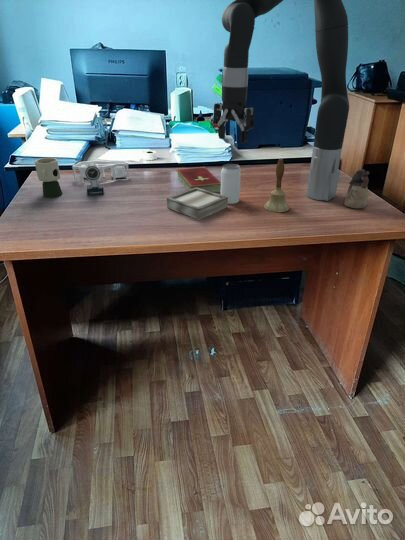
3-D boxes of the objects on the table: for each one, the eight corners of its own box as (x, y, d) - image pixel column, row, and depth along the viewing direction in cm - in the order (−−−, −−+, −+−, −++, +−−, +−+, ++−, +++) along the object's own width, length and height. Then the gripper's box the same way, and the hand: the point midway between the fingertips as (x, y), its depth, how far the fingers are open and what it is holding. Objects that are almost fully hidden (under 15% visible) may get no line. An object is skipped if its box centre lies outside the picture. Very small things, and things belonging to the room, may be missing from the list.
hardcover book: (205, 176, 160) (205, 166, 158) (222, 193, 143) (223, 182, 141) (176, 179, 157) (176, 168, 155) (190, 197, 140) (190, 185, 138)
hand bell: (270, 213, 127) (275, 164, 119) (260, 204, 134) (264, 156, 125) (293, 211, 129) (300, 162, 120) (282, 202, 136) (288, 154, 127)
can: (239, 204, 133) (241, 169, 127) (220, 204, 133) (221, 169, 127) (238, 197, 139) (240, 163, 132) (220, 197, 139) (221, 163, 133)
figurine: (356, 199, 138) (363, 165, 131) (370, 207, 132) (379, 171, 126) (339, 202, 135) (346, 167, 129) (353, 209, 130) (361, 173, 124)
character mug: (60, 203, 133) (52, 165, 127) (38, 203, 133) (29, 165, 126) (67, 192, 143) (60, 155, 136) (47, 192, 142) (39, 156, 136)
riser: (227, 207, 131) (227, 197, 129) (198, 220, 122) (198, 209, 120) (196, 197, 139) (196, 187, 137) (167, 208, 130) (166, 197, 128)
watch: (87, 199, 136) (83, 168, 131) (88, 191, 143) (83, 161, 137) (104, 198, 138) (100, 167, 132) (104, 190, 144) (100, 160, 139)
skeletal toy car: (131, 177, 158) (129, 158, 154) (128, 186, 149) (126, 167, 145) (80, 177, 157) (77, 159, 153) (73, 187, 148) (70, 167, 144)
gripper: (262, 85, 116) (257, 142, 124) (224, 81, 124) (222, 135, 132) (246, 87, 111) (243, 146, 119) (208, 83, 119) (207, 139, 127)
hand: (232, 140), depth 126 cm, fingers open, 8 cm apart
